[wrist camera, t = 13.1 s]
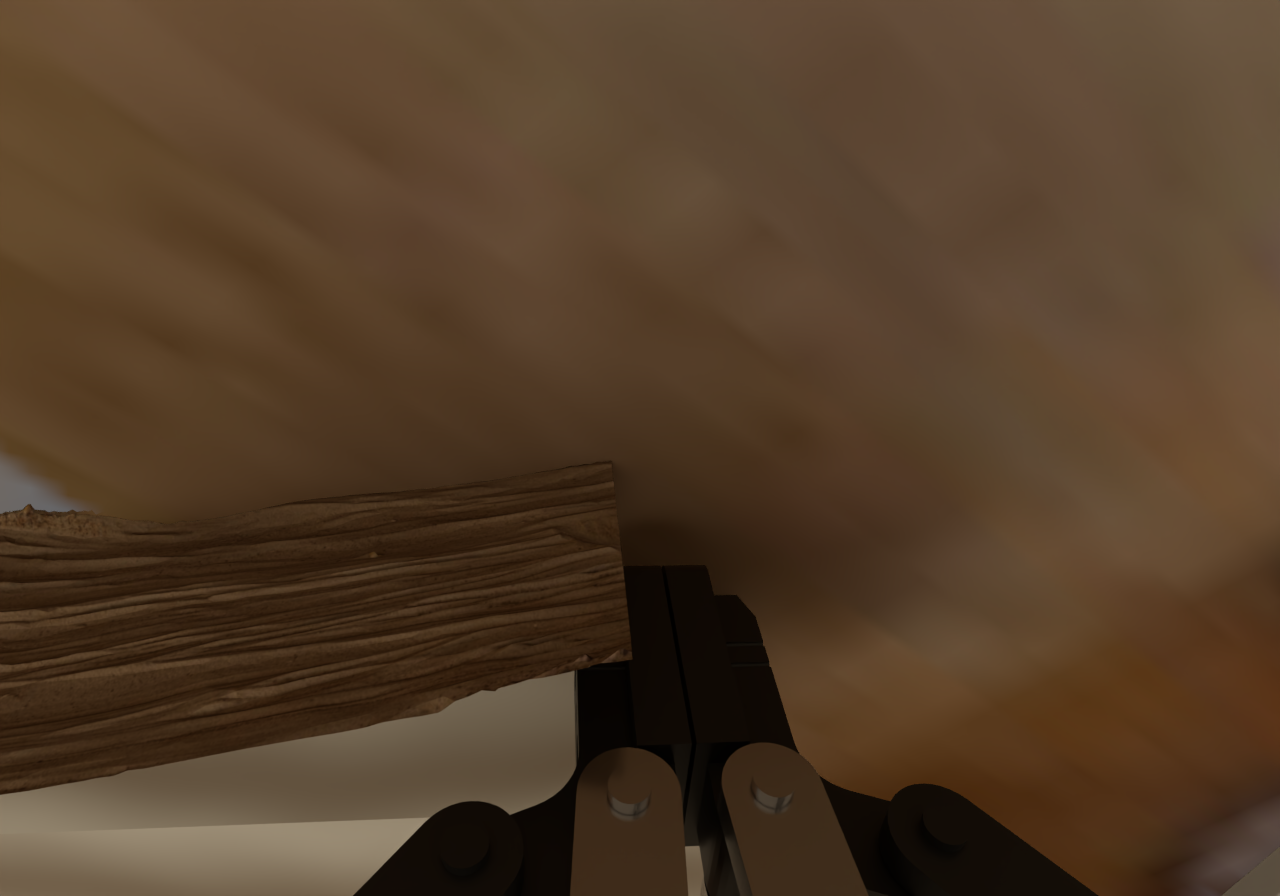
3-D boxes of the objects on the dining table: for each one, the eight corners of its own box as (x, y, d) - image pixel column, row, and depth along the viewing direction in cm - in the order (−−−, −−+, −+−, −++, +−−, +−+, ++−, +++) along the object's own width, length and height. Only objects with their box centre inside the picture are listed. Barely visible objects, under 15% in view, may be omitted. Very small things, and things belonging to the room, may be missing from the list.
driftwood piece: (602, 386, 13) (626, 597, 8) (615, 488, 14) (640, 720, 9) (-368, 493, 12) (-873, 776, 8) (-274, 591, 13) (-673, 886, 9)
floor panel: (-414, 616, 13) (-482, 661, 12) (741, 606, 15) (751, 643, 14) (-144, 928, 18) (-178, 975, 17) (688, 886, 20) (694, 925, 20)
